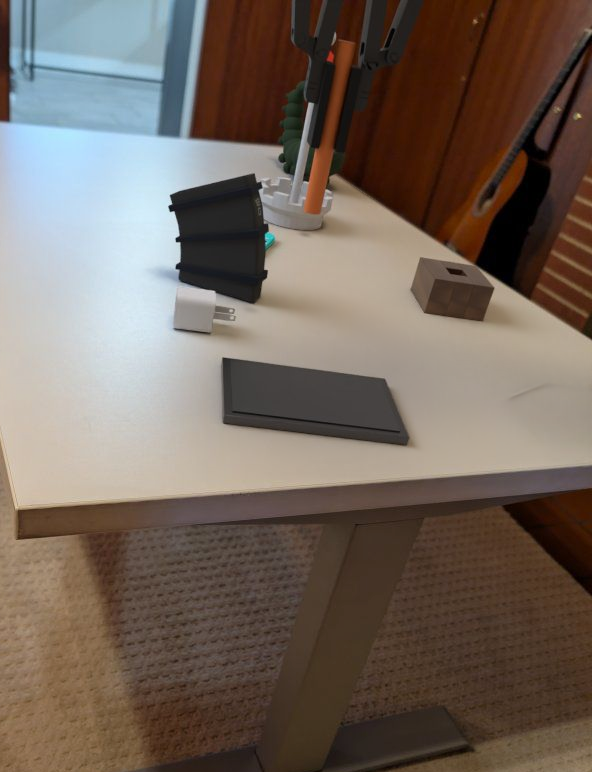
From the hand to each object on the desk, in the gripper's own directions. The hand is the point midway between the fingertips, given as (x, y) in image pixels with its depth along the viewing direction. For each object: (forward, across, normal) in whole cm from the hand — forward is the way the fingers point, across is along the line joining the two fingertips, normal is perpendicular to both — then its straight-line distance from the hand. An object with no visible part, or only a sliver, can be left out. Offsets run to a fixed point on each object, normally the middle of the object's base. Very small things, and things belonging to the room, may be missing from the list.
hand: (325, 146), depth 66 cm
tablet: (+24, -3, +3) cm, 24 cm away
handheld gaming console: (+24, +2, -43) cm, 50 cm away
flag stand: (+24, -8, -62) cm, 67 cm away
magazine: (+24, +6, -25) cm, 36 cm away
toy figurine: (+24, -14, -94) cm, 98 cm away
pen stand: (+24, -28, -31) cm, 48 cm away
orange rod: (+6, 0, 0) cm, 6 cm away
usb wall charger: (+24, +8, -12) cm, 28 cm away
